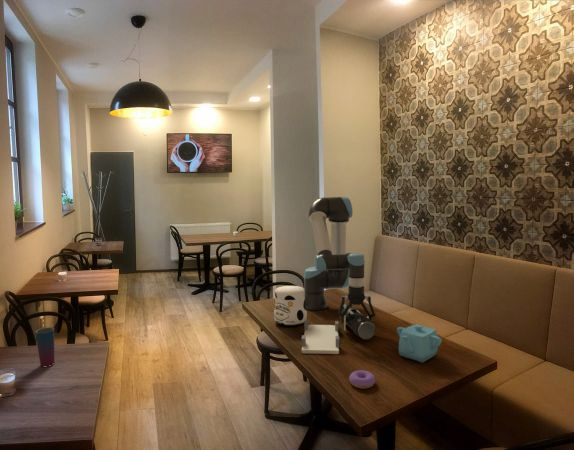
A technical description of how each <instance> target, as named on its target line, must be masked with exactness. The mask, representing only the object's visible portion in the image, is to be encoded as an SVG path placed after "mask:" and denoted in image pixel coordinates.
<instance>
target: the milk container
mask: <svg viewBox="0 0 574 450" xmlns="http://www.w3.org/2000/svg"><path fill="white" fill-rule="evenodd" d="M274 291H275V292H274V301H275V302H274V303H275V306H274V310H273V320H274V322H275V323H276V324H278V325H281V326H287V327H295V326H299V325H302V324H304V322H305V321H307V319H308V318H307V317H308V313H307V309H306V307H305V290H304V287H302V286H297V285H285V286H284V285H283V286H278V287H276V288H275V290H274Z"/></svg>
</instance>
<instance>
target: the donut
mask: <svg viewBox="0 0 574 450" xmlns="http://www.w3.org/2000/svg"><path fill="white" fill-rule="evenodd" d="M348 381H349V383H350V384H351V385H352V386H353V387H355V388H357V389H361V390H364V389H365V390H367V389H370V388H372V387H373V386H374V384H375V382H376V377H375V375H374V374H373V373H372V372H370V371H368V370H363V369H362V370H361V369H359V370H355V371H353V372H352V373H350V374H349V378H348Z"/></svg>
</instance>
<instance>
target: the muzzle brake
mask: <svg viewBox="0 0 574 450" xmlns="http://www.w3.org/2000/svg"><path fill="white" fill-rule="evenodd" d="M347 305H348V303H344V306H343V309H342V312H341V313H343V311H344V310H345V308H346V306H347ZM345 317H346V325H347V326H348V327H349V328H350V329H351V330H352V332H353V333H354V334H355V335H356V337H358V338H359V339H362V340H369V339H371V338H373V336H374V335H375V333H376V328H375V323H374V322H373V320H372V319H371V320H370V319H369V318H367V316H365V315H364V314H363V313H362V312H361V311H360V310H358V308H356V307H355V305H353V304H352V306H351V307H350V308H349V310H348V311H347V313H346V314H345ZM339 318H340V319H341V320H342V317H341V316H339Z"/></svg>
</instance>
